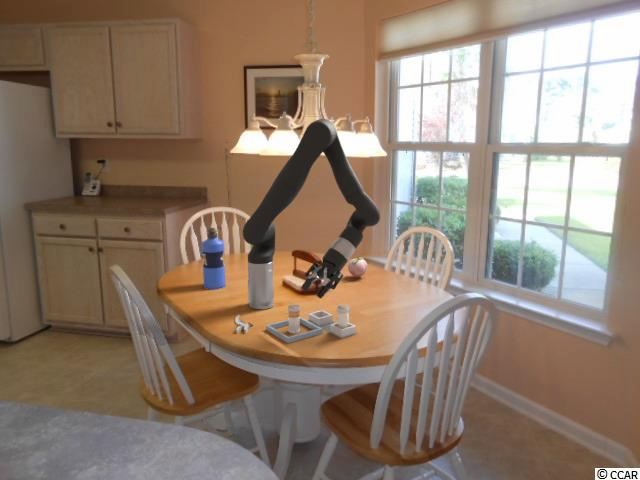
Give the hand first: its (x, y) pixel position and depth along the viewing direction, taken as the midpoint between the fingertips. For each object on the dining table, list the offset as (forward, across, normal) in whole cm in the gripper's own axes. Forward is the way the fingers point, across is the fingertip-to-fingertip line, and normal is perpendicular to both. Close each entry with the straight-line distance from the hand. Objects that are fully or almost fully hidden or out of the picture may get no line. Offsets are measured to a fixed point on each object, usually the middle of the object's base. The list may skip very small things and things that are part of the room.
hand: (310, 293), depth 156 cm
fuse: (+4, +10, +12) cm, 16 cm away
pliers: (+20, -16, -1) cm, 26 cm away
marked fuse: (+13, 0, +4) cm, 13 cm away
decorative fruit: (-27, -37, +45) cm, 65 cm away
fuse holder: (+5, +4, +13) cm, 14 cm away
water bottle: (+13, -63, +5) cm, 64 cm away
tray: (+13, 0, +4) cm, 14 cm away
